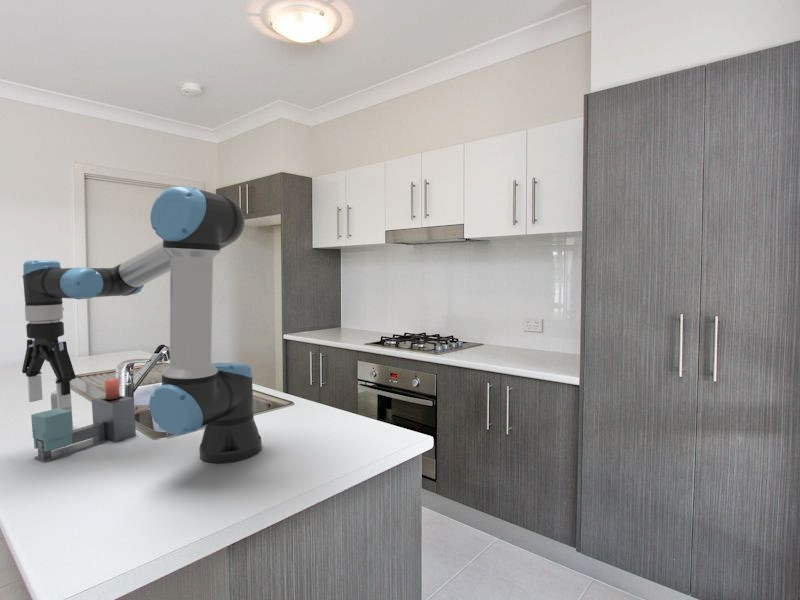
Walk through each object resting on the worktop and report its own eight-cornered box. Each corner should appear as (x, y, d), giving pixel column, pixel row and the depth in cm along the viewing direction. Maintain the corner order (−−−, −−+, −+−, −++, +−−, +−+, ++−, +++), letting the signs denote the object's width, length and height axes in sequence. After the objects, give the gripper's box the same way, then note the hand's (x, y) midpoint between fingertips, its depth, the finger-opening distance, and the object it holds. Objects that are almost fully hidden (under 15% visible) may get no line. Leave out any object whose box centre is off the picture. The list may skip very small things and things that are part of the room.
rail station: (135, 435, 133) (133, 397, 132) (50, 464, 113) (47, 420, 113) (115, 430, 137) (112, 394, 137) (29, 457, 118) (26, 415, 117)
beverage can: (62, 434, 135) (59, 394, 134) (48, 433, 136) (46, 393, 135) (77, 429, 139) (74, 390, 139) (63, 428, 140) (61, 389, 140)
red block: (122, 396, 132) (121, 378, 132) (110, 399, 129) (109, 381, 129) (115, 395, 134) (114, 377, 134) (103, 398, 131) (102, 380, 131)
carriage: (73, 443, 120) (71, 411, 119) (47, 451, 114) (44, 417, 114) (59, 440, 123) (57, 408, 122) (33, 447, 117) (31, 414, 117)
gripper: (89, 322, 114) (93, 406, 115) (36, 318, 126) (40, 394, 127) (55, 325, 107) (60, 414, 109) (2, 320, 119) (7, 401, 120)
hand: (49, 404), depth 118 cm, fingers open, 13 cm apart
